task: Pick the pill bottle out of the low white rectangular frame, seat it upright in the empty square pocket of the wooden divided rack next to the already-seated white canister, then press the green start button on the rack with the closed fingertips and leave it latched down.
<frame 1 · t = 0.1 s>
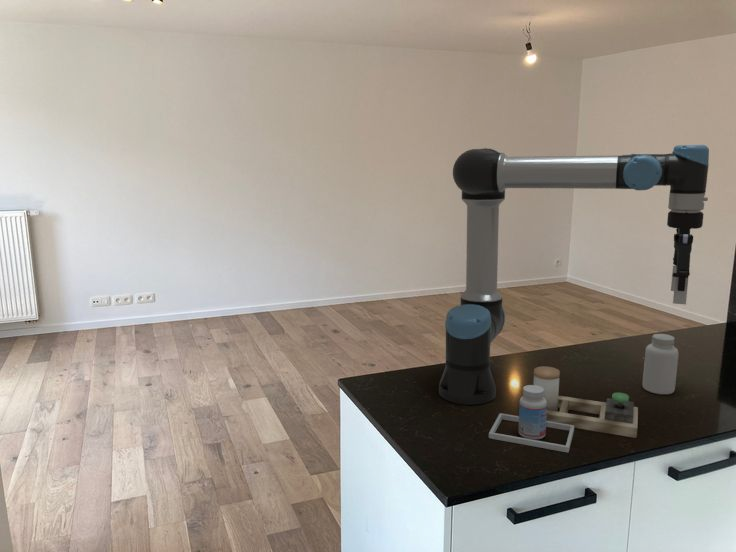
hand: (677, 297, 146), 28 cm above the table, fingers open, 13 cm apart
white rectangular frame: (531, 434, 137), on the table
pill bottle 2: (658, 390, 160), on the table
wooden divided rack: (578, 417, 144), on the table
pill bottle: (531, 435, 137), resting in white rectangular frame
white canister: (544, 412, 148), resting in wooden divided rack
button: (620, 401, 139), point 6 cm above the table, slide at 0.0 cm
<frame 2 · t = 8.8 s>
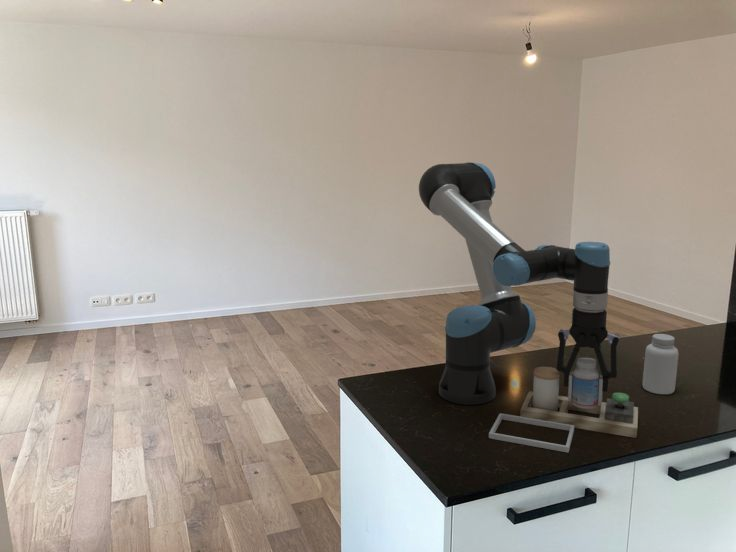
hand: (584, 400, 143), 5 cm above the table, fingers closed on pill bottle, 6 cm apart
pill bottle: (584, 405, 143), point 3 cm above the table, touching gripper
white canister: (544, 412, 148), resting in wooden divided rack, touching gripper
everything else where it was.
when the fingers open (4 cm above the table, at t = 9.5 s): pill bottle drops 3 cm, resting in wooden divided rack.
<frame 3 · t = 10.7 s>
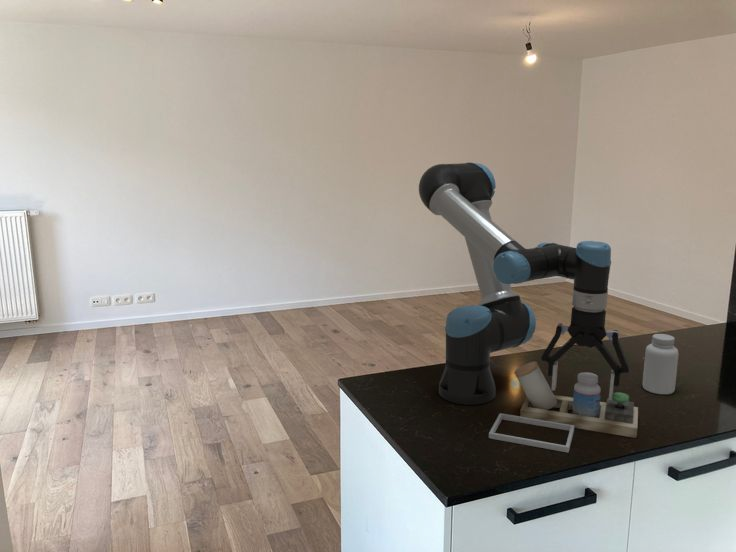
hand: (581, 393, 143), 6 cm above the table, fingers open, 12 cm apart
pill bottle: (585, 420, 143), resting in wooden divided rack
white canister: (545, 406, 148), point 1 cm above the table, tilted 29°, touching wooden divided rack
button: (620, 401, 139), point 6 cm above the table, slide at -0.1 cm, touching gripper
everything else where it was.
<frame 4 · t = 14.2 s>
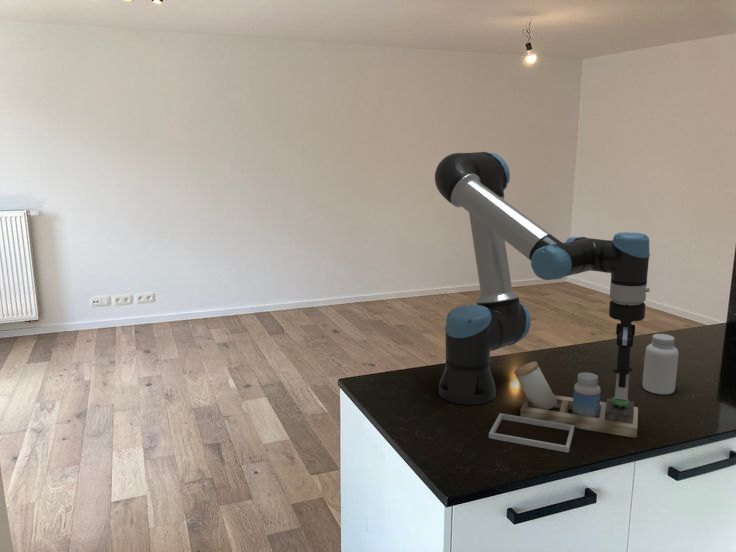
hand: (621, 398, 139), 7 cm above the table, fingers closed
button: (619, 404, 140), point 5 cm above the table, slide at 0.9 cm, touching gripper
everything else where it was.
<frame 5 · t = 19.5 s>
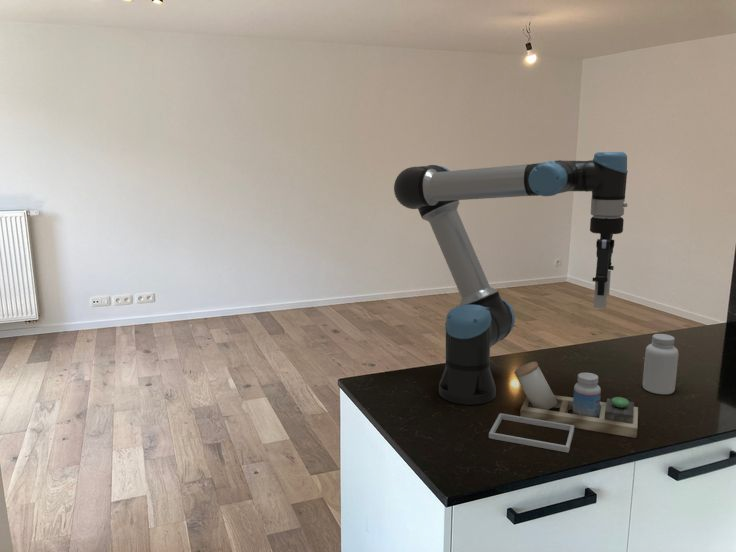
hand: (601, 301, 148), 27 cm above the table, fingers open, 13 cm apart
button: (619, 405, 140), point 5 cm above the table, slide at 1.2 cm
everything else where it was.
at the end: pill bottle 0.7 cm from the target spot on the wooden divided rack, point 0.0 cm above the wooden divided rack's base; pill bottle tilted 0°; button slide at 1.2 cm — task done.
